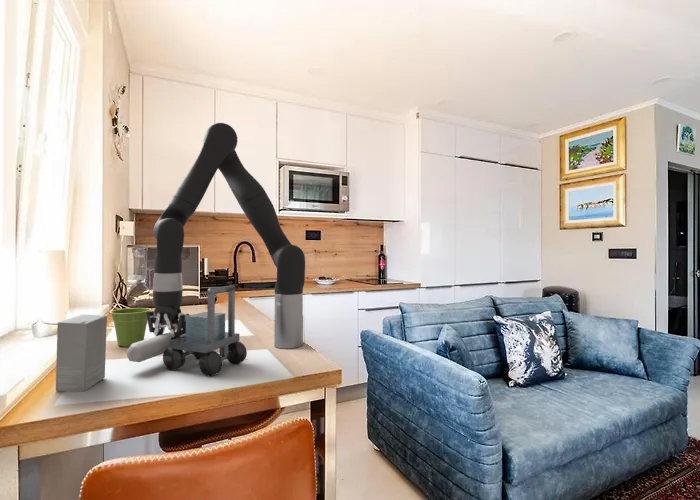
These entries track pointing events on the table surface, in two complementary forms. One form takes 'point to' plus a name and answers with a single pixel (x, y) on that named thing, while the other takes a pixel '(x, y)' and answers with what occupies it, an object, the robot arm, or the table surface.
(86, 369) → the skincare box
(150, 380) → the table surface
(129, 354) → the tube
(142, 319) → the plant pot
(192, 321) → the trolley
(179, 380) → the table surface
